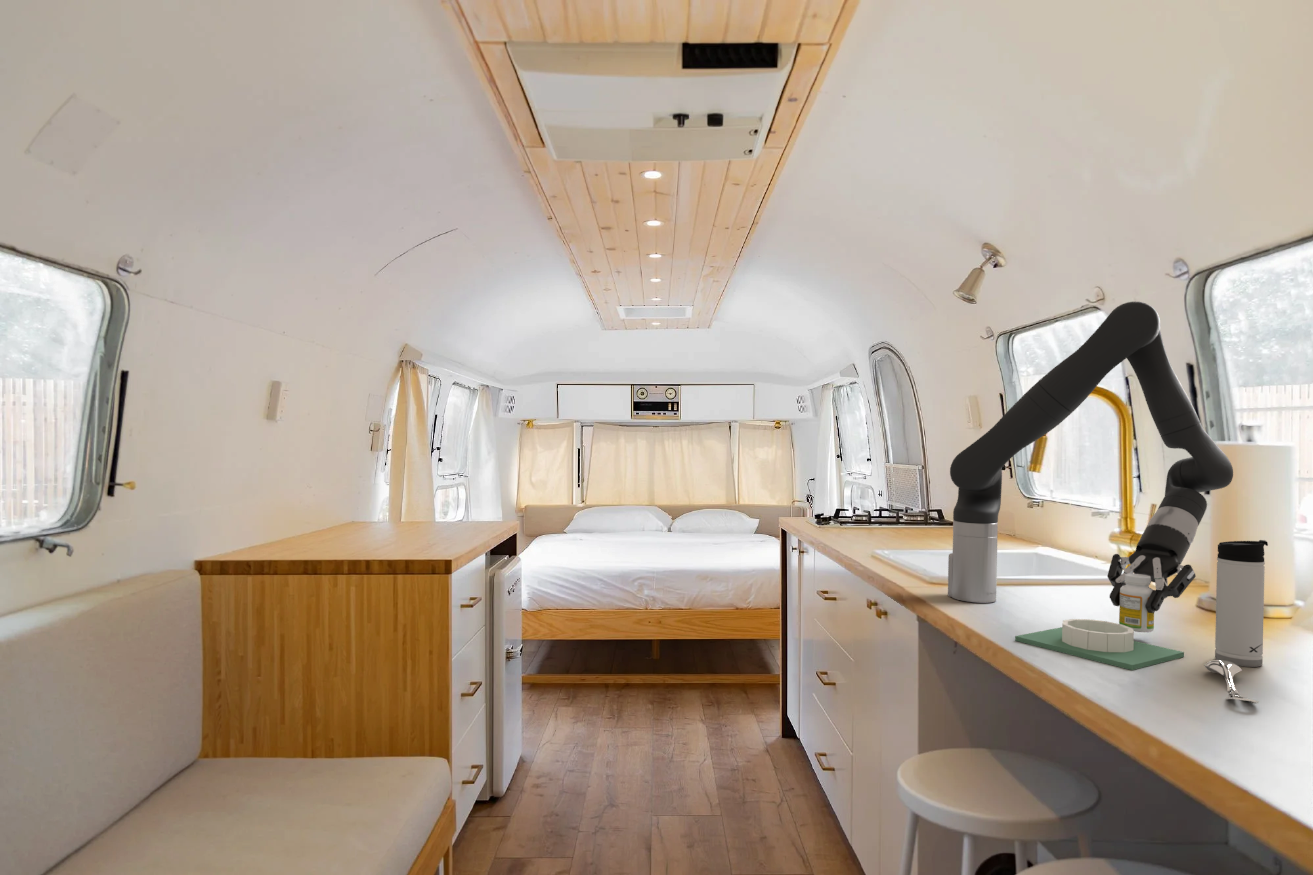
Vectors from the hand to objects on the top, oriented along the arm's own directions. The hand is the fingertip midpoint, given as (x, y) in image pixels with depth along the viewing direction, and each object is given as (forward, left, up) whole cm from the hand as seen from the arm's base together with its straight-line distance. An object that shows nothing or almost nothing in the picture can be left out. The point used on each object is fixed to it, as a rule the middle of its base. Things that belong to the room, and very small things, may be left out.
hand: (1131, 606), depth 142 cm
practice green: (0, -11, -6) cm, 13 cm away
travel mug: (+16, +2, -6) cm, 18 cm away
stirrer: (+23, -17, -7) cm, 29 cm away
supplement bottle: (0, +2, -5) cm, 5 cm away
